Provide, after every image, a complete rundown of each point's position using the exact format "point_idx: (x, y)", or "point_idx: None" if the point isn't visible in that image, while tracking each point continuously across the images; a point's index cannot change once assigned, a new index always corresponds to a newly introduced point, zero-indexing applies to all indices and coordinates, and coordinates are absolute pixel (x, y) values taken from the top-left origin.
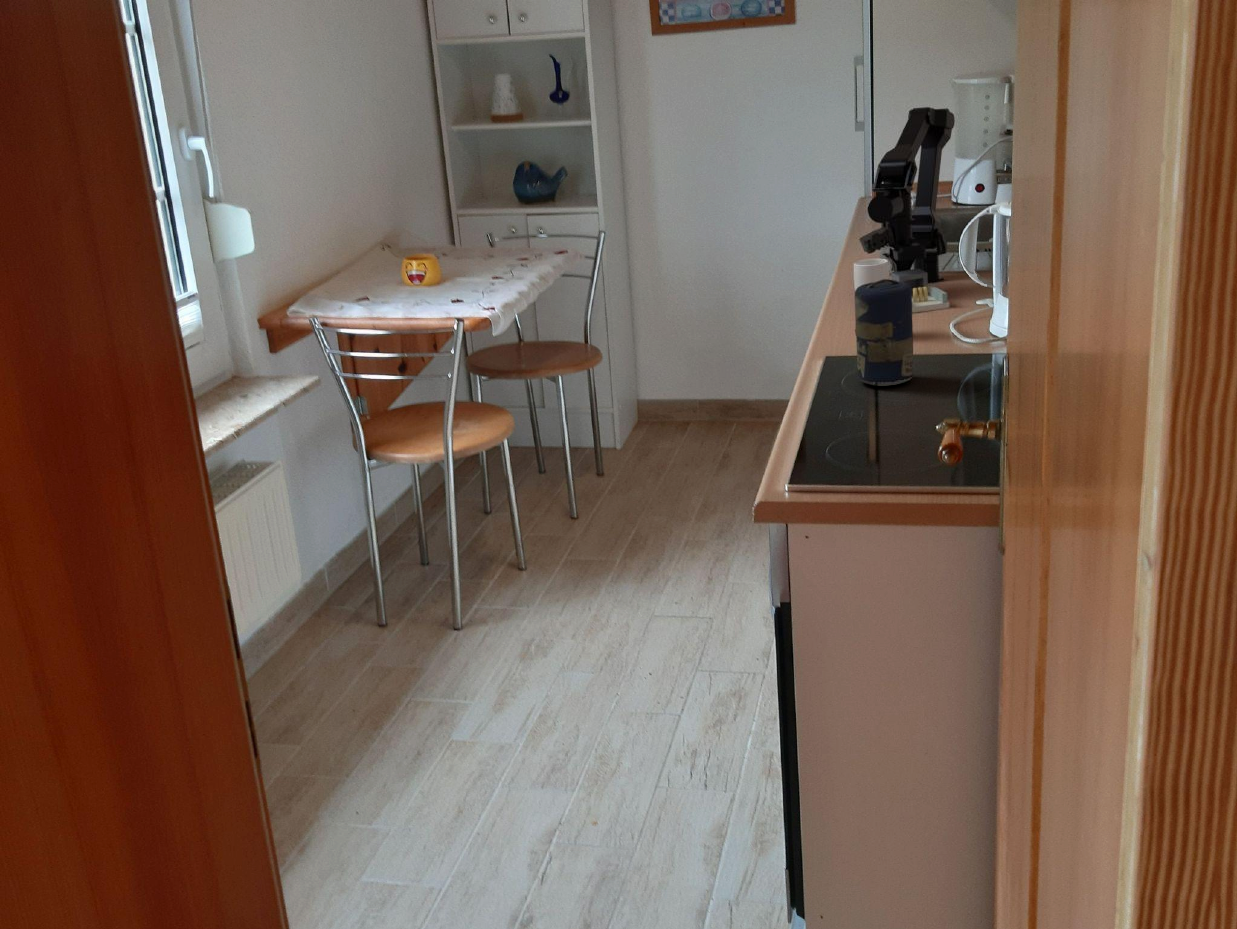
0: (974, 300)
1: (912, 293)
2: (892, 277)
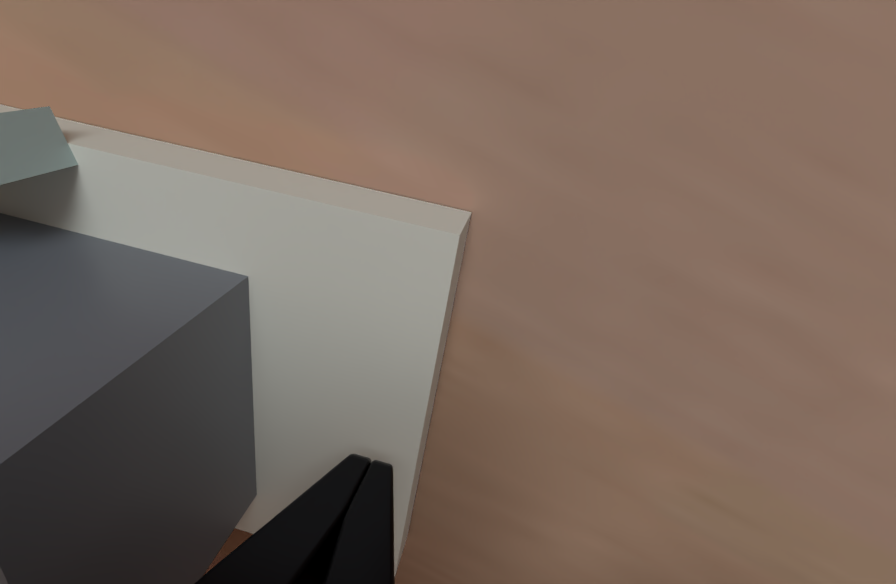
0: None
1: None
2: (8, 402)
